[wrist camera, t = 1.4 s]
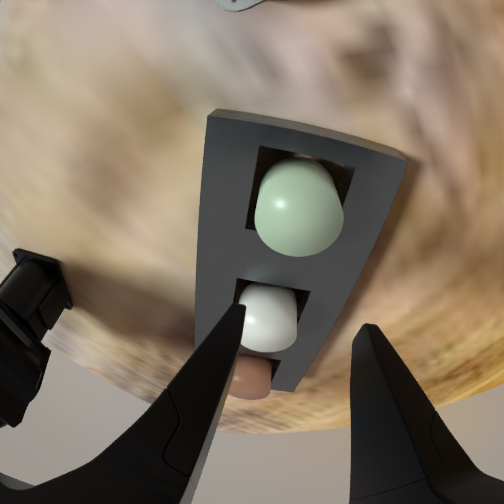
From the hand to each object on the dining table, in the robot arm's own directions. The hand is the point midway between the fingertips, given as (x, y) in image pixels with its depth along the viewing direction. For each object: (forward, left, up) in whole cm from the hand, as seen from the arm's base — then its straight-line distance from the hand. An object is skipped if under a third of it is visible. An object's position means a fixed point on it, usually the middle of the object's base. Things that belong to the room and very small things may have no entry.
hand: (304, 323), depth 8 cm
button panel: (0, -9, -10) cm, 13 cm away
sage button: (0, 0, -9) cm, 9 cm away
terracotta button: (0, -17, -9) cm, 19 cm away
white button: (0, -9, -9) cm, 12 cm away
